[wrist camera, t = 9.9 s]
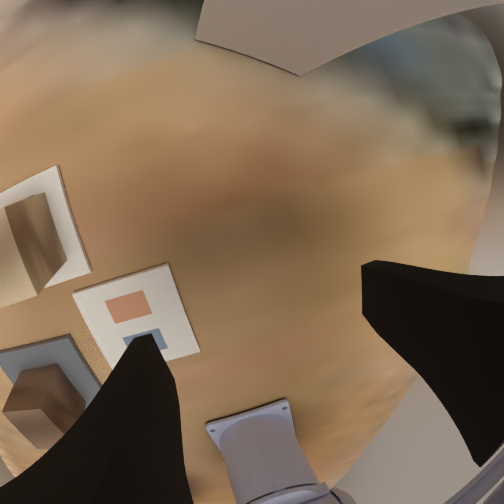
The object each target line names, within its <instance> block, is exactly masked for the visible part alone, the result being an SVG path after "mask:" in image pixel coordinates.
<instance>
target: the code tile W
mask: <svg viewBox="0 0 504 504" xmlns="http://www.w3.org/2000/svg"><path fill="white" fill-rule="evenodd" d="M72 296H73V298H74V300H75V302H76V304H77V306H78V308H79V310H80V312H81V314H82V316H83V318H84V320H85V322H86V324H87V326H88V328H89V330H90V332H91V334H92V335H93V337H94V339H95V341H96V343H97V344H98V346H99V348H100V350H101V351H102V353H103V355H104V357H105V358H106V360H107V362H108V363H109V365H110V366H111V368H112V370H113V369H114V367H115V366H116V364H117V362H118V361H119V359H120V358H121V356H122V355H123V353H124V351H125V350H126V348H127V347H128V345H129V344H130V342H131V341H132V340H133V338H134V337H138V336H142V335H146V334H149V333H152V335H153V337H154V339H155V341H156V343H157V346H158V348H159V350H160V352H161V354H162V356H163V358H164V360H165V361H169V360H173V359H176V358H180V357H184V356H187V355H191V354H195V353H198V352H201V351H200V347H199V345H198V342H197V340H196V337H195V335H194V332H193V330H192V327H191V325H190V322H189V320H188V317H187V314H186V312H185V309H184V306H183V304H182V301H181V298H180V295H179V293H178V290H177V287H176V284H175V281H174V278H173V275H172V273H171V270H170V267H169V264H168V263H166V264H163V265H159V266H156V267H153V268H149V269H146V270H143V271H139V272H136V273H133V274H129V275H126V276H123V277H119V278H116V279H113V280H110V281H106V282H103V283H100V284H97V285H93V286H90V287H87V288H84V289H80V290H77V291H74V292H73V293H72Z"/></svg>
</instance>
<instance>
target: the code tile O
mask: <svg viewBox="0 0 504 504" xmlns="http://www.w3.org/2000/svg"><path fill="white" fill-rule="evenodd" d="M44 192H45V195H46V198H47V202H48V205H49V208H50V212H51V215H52V218H53V221H54V224H55V227H56V230H57V233H58V236H59V239H60V242H61V244H62V247H63V250H64V252H65V255H66V258H67V261H66V262H65V263H64V265H63V266H62V267H61V268H60V269H59V270H58V271H57V273H56V274H55V275H54V276H53V277H52V278H51V280H50V281H49V282H48V283H47V284H46V286H45V287H44V288H46V287H49V286H52V285H55V284H58V283H61V282H64V281H67V280H70V279H73V278H76V277H79V276H82V275H85V274H88V273H91V272H92V268H91V266H90V263H89V261H88V258H87V256H86V253H85V250H84V248H83V245H82V242H81V239H80V236H79V233H78V231H77V228H76V225H75V222H74V218H73V215H72V212H71V209H70V206H69V202H68V199H67V195H66V192H65V188H64V185H63V181H62V177H61V173H60V169H59V165H56V166H54V167H51V168H49V169H47V170H45V171H43V172H41V173H38V174H36V175H34V176H32V177H30V178H28V179H26V180H24V181H22V182H20V183H18V184H16V185H15V186H13V187H11V188H9V189H7V190H5V191H4V192H2V193H0V209H1V208H3V207H5V206H8V205H10V204H13V203H16V202H18V201H21V200H24V199H26V198H29V197H32V196H35V195H38V194H41V193H44Z"/></svg>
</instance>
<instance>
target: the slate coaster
mask: <svg viewBox="0 0 504 504" xmlns="http://www.w3.org/2000/svg"><path fill="white" fill-rule="evenodd" d="M55 363H58V365H59V366H60V368H61V369H62V371H63V372H64V374H65V375H66V376H67V378H68V379H69V380H70V382H71V383H72V384H73V386H74V387H75V388H76V390H77V391H78V392H79V394H80V395H81V396H82V397H83V399H84V400H85V401H86V406H85V409H86V408H87V407H88V405H89V404H90V403H91V401H92V400H93V398H94V397H95V395H96V394H97V393H98V391H99V390H100V388H101V387H102V385H101V384H100V382H99V381H98V379H97V378H96V376H95V375H94V373H93V372H92V370H91V369H90V367H89V365H88V364H87V362H86V361H85V359H84V358H83V356H82V354H81V353H80V351H79V349H78V348H77V346H76V344H75V342H74V341H73V339H72V337H71V335H70V334H69V335H65V336H61V337H57V338H53V339H49V340H44V341H40V342H36V343H32V344H28V345H24V346H19V347H15V348H11V349H6V350H2V351H0V366H1V367H2V369H3V370H4V372H5V373H6V375H7V376H8V377H9V379H10V380H11V382H12V383H13V384H15V382H16V380H17V378H18V376H19V374H20V372H21V371H24V370H28V369H33V368H38V367H42V366H47V365H51V364H55Z"/></svg>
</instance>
